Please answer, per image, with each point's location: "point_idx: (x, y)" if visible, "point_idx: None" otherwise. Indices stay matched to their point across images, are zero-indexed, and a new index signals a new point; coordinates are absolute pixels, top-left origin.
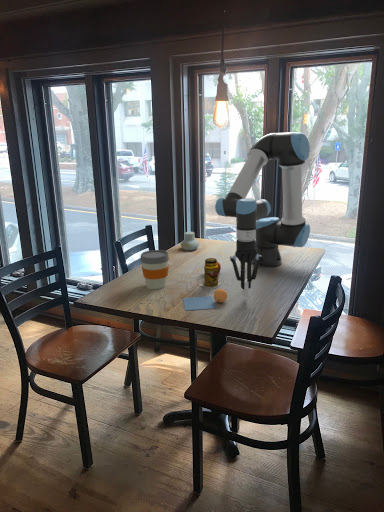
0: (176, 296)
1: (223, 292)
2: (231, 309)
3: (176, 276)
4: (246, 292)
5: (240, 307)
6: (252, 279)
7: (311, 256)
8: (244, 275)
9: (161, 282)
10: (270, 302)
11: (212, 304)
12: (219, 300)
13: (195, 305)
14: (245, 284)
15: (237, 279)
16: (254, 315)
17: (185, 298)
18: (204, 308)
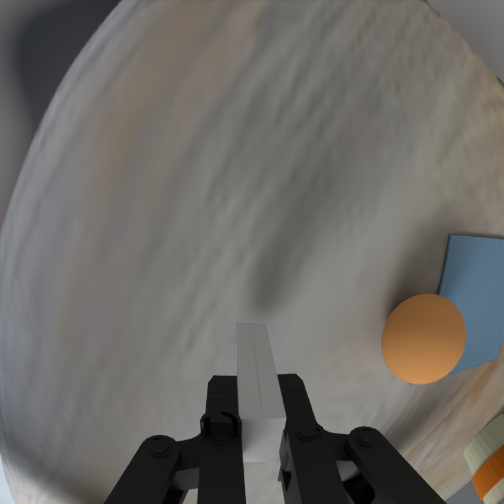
0: (497, 373)
1: (437, 333)
2: (382, 199)
3: None
4: (253, 345)
5: (318, 217)
6: (183, 443)
7: (22, 500)
8: (304, 487)
9: (499, 433)
10: (91, 261)
11: (450, 286)
12: (435, 294)
13: (500, 283)
14: (273, 397)
15: (380, 433)
16: (254, 68)
17: (493, 355)
18: (488, 242)
